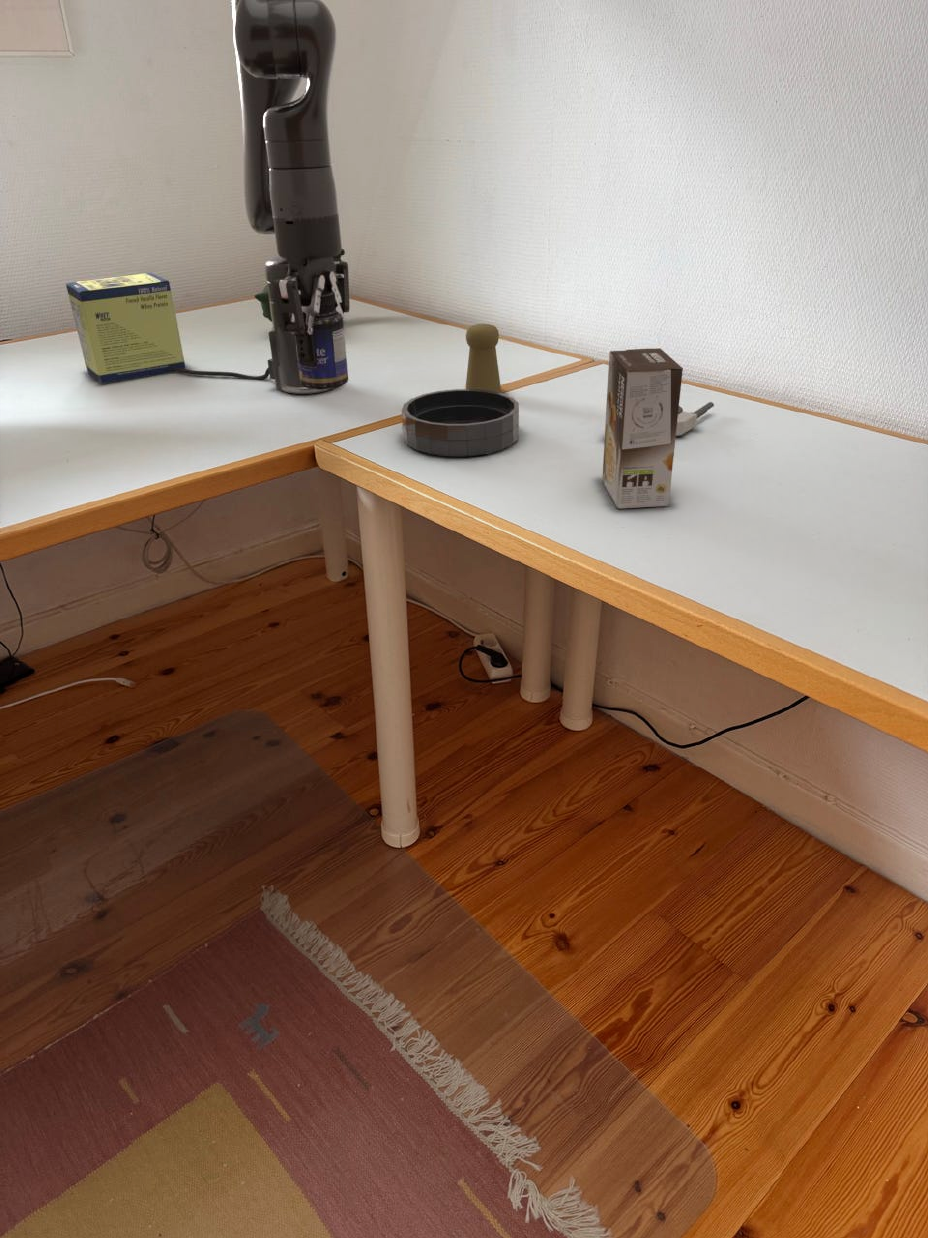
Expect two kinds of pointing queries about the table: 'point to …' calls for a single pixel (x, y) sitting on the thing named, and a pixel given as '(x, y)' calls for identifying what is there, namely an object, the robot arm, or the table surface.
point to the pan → (460, 422)
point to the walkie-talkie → (690, 418)
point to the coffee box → (640, 426)
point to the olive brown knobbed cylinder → (482, 358)
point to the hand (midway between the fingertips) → (321, 357)
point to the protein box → (126, 326)
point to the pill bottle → (326, 348)
